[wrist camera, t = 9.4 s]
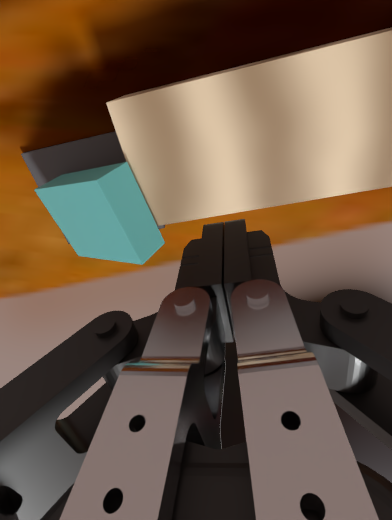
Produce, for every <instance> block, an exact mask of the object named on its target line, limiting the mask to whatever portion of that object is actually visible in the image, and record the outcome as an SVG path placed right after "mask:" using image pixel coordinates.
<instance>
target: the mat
mask: <svg viewBox="0 0 392 520" xmlns="http://www.w3.org/2000/svg"><path fill="white" fill-rule="evenodd" d="M21 155H22V157H23V159H24V161H25V162H26V164H27V166H28V168H29V170H30V172H31V174H32V176H33V178H34V179H35V181H36V183H37V185H38V187H40V186H42V185H44V184H46V183H47V182H49V181H51V180H53V179H55V178H57V177H58V176H60V175H63V174H68V173H73V172H78V171H83V170H88V169H93V168H98V167H103V166H108V165H113V164H118V163H123V162H126V159H125V156H124V154H123V151H122V148H121V145H120V142H119V139H118V136H117V133H116V131H115V132H110V133H106V134H102V135H97V136H93V137H89V138H85V139H80V140H76V141H72V142H67V143H63V144H59V145H55V146H50V147H46V148H42V149H37V150H33V151H29V152H25V153H22V154H21ZM157 227H158V229H161V228H164V227H165V225H160V226H157ZM63 234H64V233H63ZM64 236H65V235H64ZM65 238H66V236H65ZM66 240H67V242H68V244H70V242H69V241H68V239H67V238H66Z"/></svg>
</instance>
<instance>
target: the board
mask: <svg viewBox="0 0 392 520" xmlns="http://www.w3.org/2000/svg"><path fill="white" fill-rule="evenodd" d="M106 104H107V107H108V110H109V113H110V116H111V119H112V122H113V124H114V127H115V130H116V133H117V136H118V139H119V142H120V145H121V148H122V151H123V154H124V156H125V159H126V162H127V163H128V165H129V167H130V169H131V171H132V173H133V175H134V178H135V180H136V182H137V184H138V186H139V188H140V190H141V193H142V195H143V197H144V199H145V201H146V203H147V205H148V208H149V210H150V212H151V214H152V216H153V218H154V220H155V223H156V225H157V226H160V225H166V224H172V223H178V222H183V221H189V220H195V219H201V218H207V217H213V216H219V215H225V214H231V213H237V212H243V211H249V210H255V209H261V208H267V207H272V206H278V205H284V204H290V203H296V202H302V201H308V200H314V199H320V198H326V197H332V196H338V195H344V194H350V193H356V192H362V191H367V190H373V189H379V188H385V187H391V186H392V27H391V28H387V29H383V30H379V31H376V32H372V33H368V34H364V35H360V36H356V37H352V38H348V39H344V40H340V41H336V42H332V43H328V44H325V45H321V46H317V47H313V48H309V49H305V50H301V51H297V52H293V53H289V54H285V55H281V56H277V57H274V58H270V59H266V60H262V61H258V62H254V63H250V64H246V65H242V66H238V67H234V68H230V69H226V70H223V71H219V72H215V73H211V74H207V75H203V76H199V77H195V78H191V79H187V80H183V81H179V82H175V83H171V84H168V85H164V86H160V87H156V88H152V89H148V90H144V91H140V92H136V93H132V94H128V95H125V96H122V97H119V98H117V99H114V100H112V101H109V102H107V103H106Z"/></svg>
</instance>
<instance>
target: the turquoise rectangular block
mask: <svg viewBox="0 0 392 520" xmlns="http://www.w3.org/2000/svg"><path fill="white" fill-rule="evenodd" d="M34 190H35V192H36V193H37V195H38V196H39V198H40V199H41V201H42V202H43V204H44V205H45V207H46V208H47V210H48V211H49V213H50V214H51V216H52V217H53V219H54V220H55V221H56V223H57V224H58V226H59V227H60V229H61V230H62V232H63V233H64V235H65V236H66V238H67V239H68V241H69V242H70V244H71V245H72V247H73V248H74V250H75V251H76V253H77V254H78V256H84V257H91V258H99V259H106V260H113V261H120V262H128V263H135V264H144V263H145V262H146V261H147V260H148V259H149V258H150V257H151V256H152V255H153V254H154V253H155V252H156V251H157V250H158V249H159V248H160V247H161V246H162V245H163V244H164V243H165V242H164V240H163V238H162V235H161V233H160V231H159V229H158V227H157V225H156V223H155V220H154V218H153V216H152V214H151V212H150V210H149V208H148V205H147V203H146V201H145V199H144V197H143V195H142V193H141V190H140V188H139V186H138V184H137V182H136V180H135V178H134V175H133V173H132V171H131V169H130V167H129V165H128V163H127V162H123V163H118V164H113V165H108V166H103V167H98V168H93V169H88V170H83V171H78V172H73V173H68V174H63V175H60V176H58V177H57V178H55V179H53V180H51V181H49V182H47V183H46V184H44V185H42V186H40V187H38V188H36V189H34Z"/></svg>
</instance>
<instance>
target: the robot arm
mask: <svg viewBox="0 0 392 520" xmlns="http://www.w3.org/2000/svg"><path fill="white" fill-rule="evenodd" d="M233 331H234V336H235V341H236V344H237V353H238V361H237V364H238V374H239V382H240V389H241V399H242V407H243V414H244V423H245V432H246V440H247V442H245V443H242V444H238V445H235V446H231V447H228V448H224V449H221V436H220V423H221V410H222V400H223V389H224V378H225V367H226V365H225V359H224V357H225V342H233ZM101 377H103V378H104V379H105V381H106V383H105V384H104V385H103V386H102V387H101V388H99V389H98V390H97V391H96V392H95V393H94V394H93V395H92V396H90V397H89V398H88V399H87V400H86V401H85V402H84V403H83V404H82V405H80V406H79V407H78V408H77V409H76V410H75V411H74V412H73V413H72V414H70V415H69V416H68V417H66V418H64V419H61V420H57V418H58V417H59V415H60V414H61V413H62V412H63V411H64V410H65V409H66V408H67V407H68V406H70V405H71V404H72V403H73V402H74V401H75V400H76V399H77V398H79V397H80V396H81V395H82V394H83V393H84V392H85V391H87V390H88V389H89V388H90V387H91V386H92V385H94V384H95V383H96V382H97V381H98V380H99V379H100V378H101ZM333 402H334V403H336V404H337V405H338V406H339V407H340V408H342V409H343V410H344V411H345V412H346V413H348V414H349V415H350V416H351V417H352V418H354V419H355V420H356V421H357V422H358V423H360V424H361V425H362V426H363V427H364V428H366V429H367V430H368V431H369V432H371V433H372V434H373V435H374V436H375V437H376V438H378V439H379V440H380V441H381V442H382V443H384V444H385V445H386V446H387V447H388V448H390V449H391V450H392V304H391V303H389V302H387V301H385V300H383V299H381V298H378V297H376V296H374V295H372V294H369V293H367V292H363V291H359V290H351V289H350V290H349V289H348V290H338V291H335V292H332V293H330V294H328V295H327V296H326V297H324V299H323V300H322V302H321V303H318V302H311V301H305V300H301V299H297V298H295V297H293V296H290V295H289V294H288V293H286V292H285V291H284V290H283V288H282V287H281V285H280V282H279V277H278V273H277V269H276V264H275V260H274V256H273V251H272V248H271V243H270V238H269V236H268V235H266V234H265V233H264V232H263V231H262V230H259V231H252V232H247V231H246V224H245V219H240V220H234V221H227V222H225V226H224V222H221V223H214V224H207V225H204V226H203V232H202V239H195V240H191V241H190V242H189V243H188V244H187V246H186V247H185V248H184V251H183V256H182V260H181V266H180V269H179V274H178V278H177V283H176V287H175V291H173V292H171V293H170V294H169V295H167V296H166V297H165V298H164V300H163V301H162V303H161V305H160V308H159V311H158V312H157V313H155V314H152V315H150V316H147V317H144V318H141V319H138V320H136V321H132V318H131V317H130V315H128V313H126V312H123V311H111V312H107V313H104V314H102V315H100V316H99V317H97V318H95V319H94V320H92V321H91V322H90V323H88V324H87V325H86V326H84V327H83V328H81V329H80V330H79V331H77V332H76V333H75V334H74V335H72V336H71V337H69V338H68V339H67V340H65V341H64V342H63V343H62V344H60V345H59V346H57V347H56V348H54V349H53V350H52V351H50V352H49V353H48V354H47V355H45V356H44V357H42V358H41V359H40V360H38V361H37V362H36V363H34V364H33V365H32V366H30V367H29V368H27V369H26V370H25V371H24V372H22V373H21V374H19V375H18V376H17V377H15V378H14V379H13V380H11V381H10V382H9V383H7V384H6V385H5V386H3V387H2V388H0V520H392V483H391V482H390V481H388V480H387V479H386V478H385V477H383V476H381V475H380V474H378V473H377V472H376V471H374V470H372V469H371V468H369V467H368V466H366V465H364V464H362V463H360V462H358V461H356V459H355V457H354V454H353V452H352V449H351V447H350V444H349V441H348V439H347V436H346V434H345V431H344V428H343V426H342V423H341V421H340V418H339V416H338V413H337V410H336V408H335V405H334V403H333Z"/></svg>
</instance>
